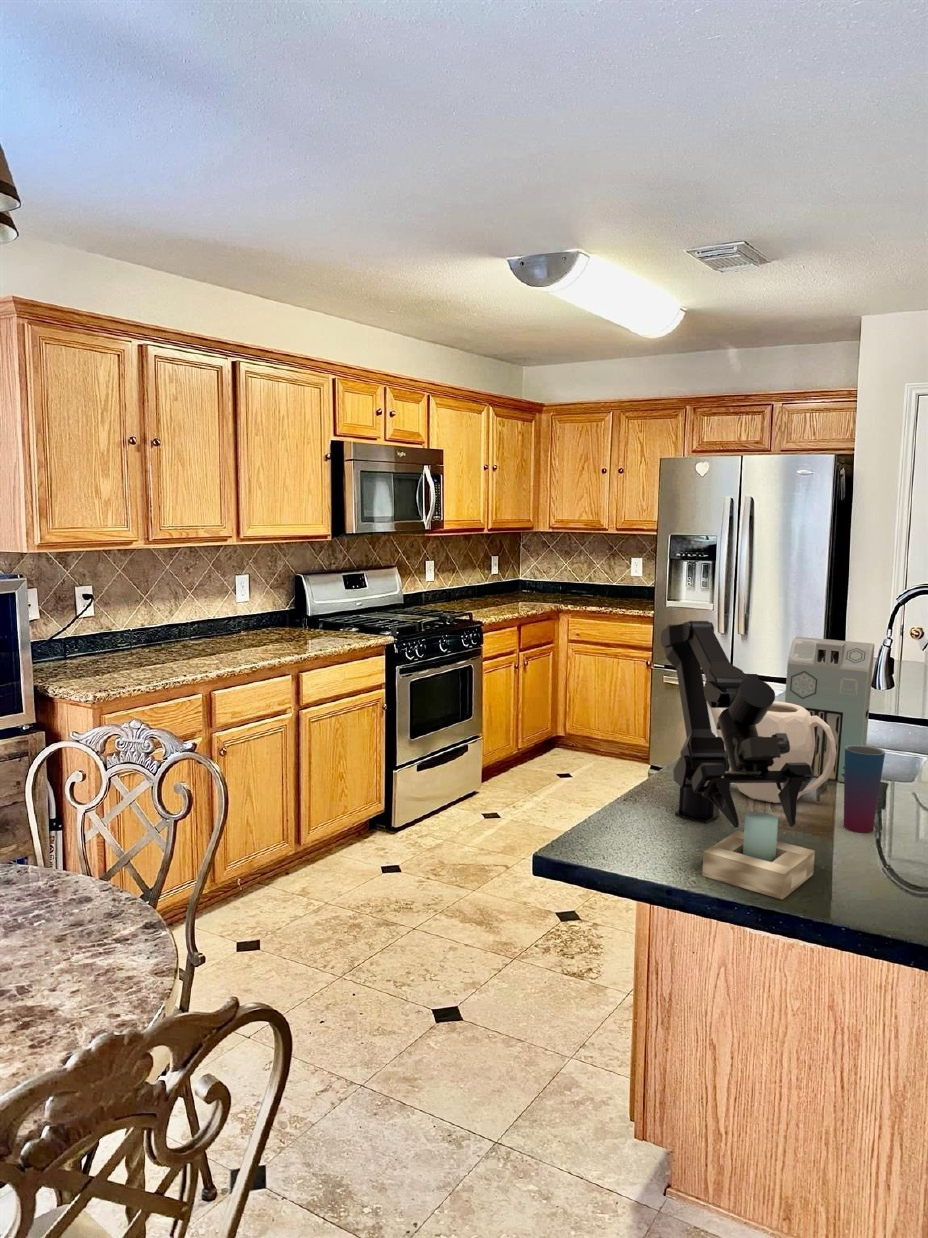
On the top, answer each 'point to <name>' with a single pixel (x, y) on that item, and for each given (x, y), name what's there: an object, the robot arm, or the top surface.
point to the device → (832, 693)
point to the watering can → (801, 745)
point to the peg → (760, 836)
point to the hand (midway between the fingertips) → (765, 826)
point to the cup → (861, 786)
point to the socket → (758, 867)
